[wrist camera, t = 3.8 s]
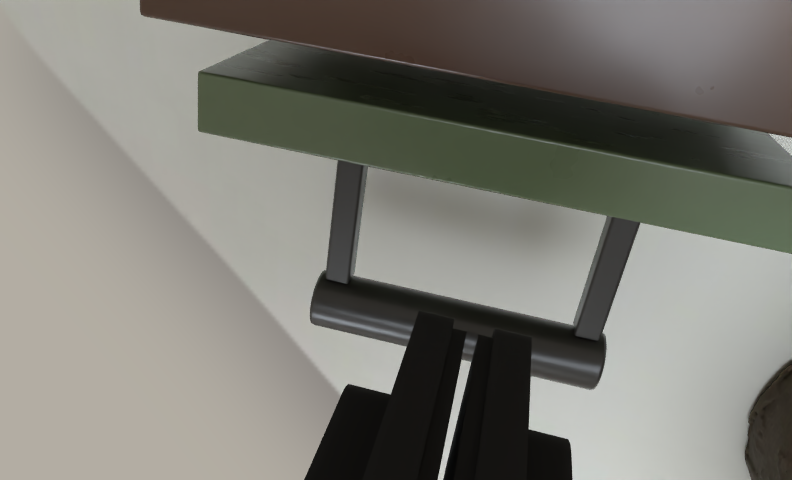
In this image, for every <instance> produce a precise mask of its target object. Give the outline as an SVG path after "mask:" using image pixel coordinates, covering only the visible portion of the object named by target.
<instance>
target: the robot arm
mask: <svg viewBox="0 0 792 480" xmlns="http://www.w3.org/2000/svg"><path fill="white" fill-rule="evenodd" d="M454 320H455V319H454V318H450V317H446V316H442V315H437V314H433V313H429V312H425V311H419V312H418V315H417V318H416V321H415V324H414V327H413V330H412V333H411V336H410V339H409V342H408V345H407V348H406V351H405V354H404V357H403V360H402V363H401V366H400V369H399V372H398V375H397V378H396V381H395V384H394V387H393V390H392V393H391V395H390V394H386V393H382V392H378V391H374V390H370V389H366V388H362V387H358V386H354V385H350V384H348V385H347V386H346V387H345V389H344V391H343V393H342V395H341V397H340V399H339V402H338V404H337V406H336V409H335V411H334V413H333V416H332V418H331V420H330V422H329V425H328V427H327V429H326V432H325V434H324V436H323V438H322V441H321V443H320V445H319V448H318V450H317V452H316V454H315V457H314V459H313V461H312V464H311V466H310V468H309V470H308V473H307V475H306V477H305V479H304V480H437V479H438V474H439V469H440V464H441V459H442V454H443V449H444V444H445V439H446V434H447V429H448V424H449V419H450V414H451V409H452V404H453V399H454V394H455V389H456V384H457V379H458V374H459V369H460V364H461V359H462V354H463V349H464V344H465V339H466V333H467V331H463V330H459V329H454V328H453V325H454ZM531 351H532V337H531V336H527V335H523V334H518V333H514V332H510V331H506V330H501V329H497V328H495V329H494V331H493V335H492V337H488V336H484V335H480V334H478V337H477V341H476V345H475V349H474V354H473V358H472V362H471V366H470V370H469V374H468V378H467V383H466V387H465V391H464V395H463V399H462V403H461V408H460V412H459V416H458V420H457V424H456V428H455V432H454V437H453V441H452V445H451V449H450V453H449V457H448V462H447V466H446V470H445V475H444V479H443V480H572V460H571V447H570V442H569V440H568V439H565V438H561V437H557V436H553V435H549V434H545V433H541V432H537V431H533V430H529V429H528V427H529V402H530V376H531Z"/></svg>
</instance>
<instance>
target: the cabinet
mask: <svg viewBox="0 0 792 480" xmlns="http://www.w3.org/2000/svg"><path fill="white" fill-rule="evenodd" d="M140 12H141V15H143V16H146V17H151V18H156V19H162V20H167V21H172V22H178V23H183V24H188V25H194V26H199V27H204V28H210V29H215V30H220V31H226V32H231V33H236V34H242V35H247V36H252V37H258V38H263V39H268V40H274V41H279V42H284V43H290V44H295V45H300V46H306V47H311V48H316V49H322V50H327V51H332V52H338V53H343V54H348V55H354V56H359V57H364V58H370V59H375V60H380V61H386V62H391V63H397V64H402V65H407V66H413V67H418V68H423V69H429V70H434V71H439V72H445V73H450V74H455V75H461V76H466V77H471V78H477V79H482V80H487V81H493V82H498V83H503V84H509V85H514V86H519V87H525V88H530V89H535V90H541V91H546V92H551V93H557V94H562V95H567V96H573V97H578V98H583V99H589V100H594V101H599V102H605V103H610V104H615V105H621V106H626V107H631V108H637V109H642V110H647V111H653V112H658V113H664V114H669V115H674V116H680V117H685V118H690V119H696V120H701V121H706V122H712V123H717V124H722V125H728V126H733V127H738V128H744V129H749V130H754V131H760V132H765V133H770V134H776V135H781V136H786V137H792V0H140Z"/></svg>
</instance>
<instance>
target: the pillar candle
mask: <svg viewBox="0 0 792 480" xmlns="http://www.w3.org/2000/svg"><path fill="white" fill-rule="evenodd" d="M748 422H749V424H750V427H749V431H748V437H749V439H748V445H747V447H746V450H745V460H746V464H747V467H748V470H749V473H750V477H751V480H792V364H791V365H790V366H788V367H787V368H786V369H784V370H783V371H782V372H781V374H780V376H779V377H778V378H777V379H776V380H775V381H774V382H772V384H771V386H770V387H769V388H768V390H767V391H765V392H764V393H763V394H762V396H761V397H760V398H759V400H758V402H757V404H756V405H755V406H754V409H753V410H752V411H751V413H750V417H749V421H748Z"/></svg>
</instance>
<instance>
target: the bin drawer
mask: <svg viewBox="0 0 792 480" xmlns="http://www.w3.org/2000/svg"><path fill="white" fill-rule="evenodd" d="M198 130H199V131H200V132H204V133H209V134H213V135H218V136H223V137H228V138H233V139H238V140H243V141H247V142H252V143H257V144H262V145H267V146H272V147H277V148H281V149H286V150H291V151H296V152H301V153H306V154H310V155H315V156H320V157H325V158H330V159H335V160H338V164H337V173H336V183H335V192H334V202H333V211H332V220H331V230H330V239H329V249H328V258H327V268H326V270H324V271H323V272H322V273H321V275H320V276H319V278H318V280H317V283H316V286H315V289H314V292H313V296H312V301H311V307H310V320H311V323H313V324H314V325H318V326H322V327H326V328H330V329H335V330H339V331H343V332H347V333H351V334H356V335H360V336H364V337H368V338H373V339H377V340H381V341H385V342H390V343H394V344H398V345H402V346H407V345H408V342H409V339H410V336H411V333H412V330H413V327H414V324H415V321H416V318H417V315H418V312H419V311H425V312H429V313H433V314H437V315H442V316H446V317H450V318H454V319H455V320H454V325H453V328H454V329H459V330H463V331H467V333H466V339H465V344H464V349H463V354H462V360H466V361H470V362H472V358H473V354H474V349H475V345H476V341H477V337H478V334H480V335H484V336H488V337H492V335H493V331H494V329H495V328H497V329H501V330H506V331H510V332H514V333H518V334H523V335H527V336H531V337H532V351H531V376H534V377H538V378H542V379H546V380H551V381H555V382H559V383H563V384H568V385H572V386H576V387H580V388H585V389H589V390H591V389H595V387H596V386H597V384H598V383H599V380H600V378H601V375H602V372H603V368H604V364H605V358H606V337H605V334H604V333H602V332H603V329H604V326H605V323H606V321H607V318H608V315H609V312H610V309H611V306H612V303H613V300H614V297H615V295H616V292H617V289H618V286H619V283H620V280H621V277H622V274H623V271H624V269H625V266H626V263H627V260H628V257H629V254H630V251H631V248H632V246H633V243H634V240H635V237H636V234H637V231H638V228H639V225H640V223H645V224H650V225H655V226H660V227H665V228H669V229H674V230H679V231H684V232H689V233H694V234H699V235H703V236H708V237H713V238H718V239H723V240H728V241H732V242H737V243H742V244H747V245H752V246H757V247H762V248H766V249H771V250H776V251H781V252H786V253H791V254H792V156H791V155H790V154H789V153H788V152H787V151H786V150H785V149H784V148H783V147H782V146H781V145H780V144H779V143H777V142H776V141H775V140H774V139H773V138H772V137H771V136H770V135H769V134H768V133H765V132H760V131H754V130H749V129H744V128H738V127H733V126H728V125H722V124H717V123H712V122H706V121H701V120H696V119H690V118H685V117H680V116H674V115H669V114H664V113H658V112H653V111H647V110H642V109H637V108H631V107H626V106H621V105H615V104H610V103H605V102H599V101H594V100H589V99H583V98H578V97H573V96H567V95H562V94H557V93H551V92H546V91H541V90H535V89H530V88H525V87H519V86H514V85H509V84H503V83H498V82H493V81H487V80H482V79H477V78H471V77H466V76H461V75H455V74H450V73H445V72H439V71H434V70H429V69H423V68H418V67H413V66H407V65H402V64H397V63H391V62H386V61H380V60H375V59H370V58H364V57H359V56H354V55H348V54H343V53H338V52H332V51H327V50H322V49H316V48H311V47H306V46H300V45H295V44H290V43H284V42H279V41H274V40H269V41H266V42H264V43H262V44H260V45H257V46H255V47H253V48H251V49H248V50H246V51H244V52H242V53H239V54H237V55H235V56H233V57H230V58H228V59H226V60H224V61H222V62H219V63H217V64H215V65H213V66H210V67H208V68H206V69H204V70H201V71H199V73H198ZM368 166H369V167H374V168H378V169H383V170H388V171H393V172H398V173H403V174H407V175H412V176H417V177H422V178H427V179H432V180H437V181H441V182H446V183H451V184H456V185H461V186H466V187H471V188H475V189H480V190H485V191H490V192H495V193H500V194H504V195H509V196H514V197H519V198H524V199H529V200H534V201H538V202H543V203H548V204H553V205H558V206H563V207H568V208H572V209H577V210H582V211H587V212H592V213H597V214H601V215H606V216H607V218H606V221H605V225H604V228H603V231H602V234H601V237H600V240H599V243H598V247H597V250H596V253H595V256H594V259H593V262H592V265H591V268H590V272H589V275H588V278H587V281H586V284H585V287H584V290H583V294H582V297H581V300H580V303H579V306H578V309H577V312H576V315H575V319H574V322H573V323H574V326H573V325H569V324H565V323H560V322H556V321H551V320H547V319H542V318H538V317H534V316H529V315H525V314H520V313H516V312H511V311H507V310H503V309H498V308H494V307H489V306H485V305H480V304H476V303H472V302H467V301H463V300H458V299H454V298H449V297H445V296H441V295H436V294H432V293H427V292H423V291H418V290H414V289H410V288H405V287H401V286H396V285H392V284H387V283H383V282H379V281H374V280H370V279H365V278H361V277H356V276H353V274H354V271H355V263H356V255H357V247H358V239H359V232H360V224H361V216H362V208H363V201H364V193H365V185H366V177H367V169H368Z"/></svg>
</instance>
